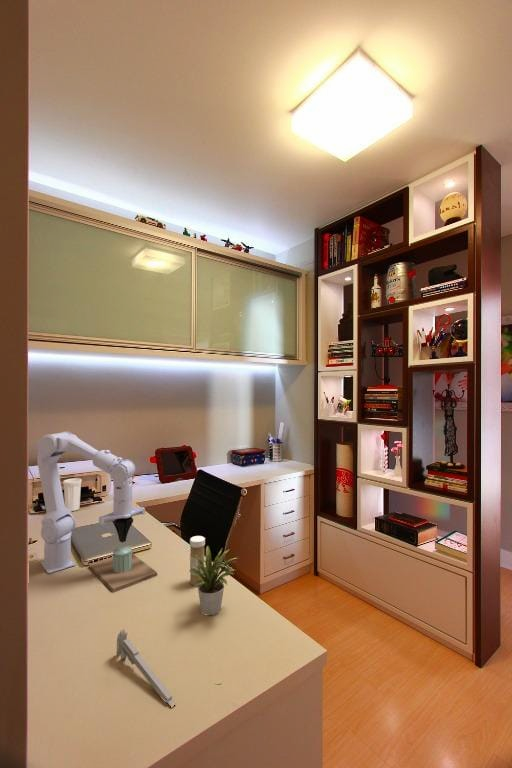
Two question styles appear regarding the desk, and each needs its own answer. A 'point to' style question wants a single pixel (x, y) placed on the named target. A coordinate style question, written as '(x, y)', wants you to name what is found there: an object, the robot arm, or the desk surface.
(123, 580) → the walnut board
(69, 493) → the cup
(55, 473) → the robot arm
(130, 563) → the cap
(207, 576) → the house plant
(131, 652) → the caliper
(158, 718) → the desk surface
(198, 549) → the sprinkles bottle
